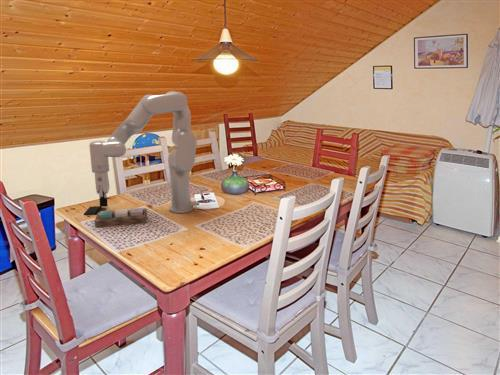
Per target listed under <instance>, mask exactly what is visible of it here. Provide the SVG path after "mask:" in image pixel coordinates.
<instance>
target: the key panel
mask: <svg viewBox="0 0 500 375" xmlns="http://www.w3.org/2000/svg"><path fill="white" fill-rule="evenodd" d="M147 210H148V209H147V208H143V215H141V216H130V211H131V209H128V217H127V216H126V217H116V218H115V211H116V210H113V218H105V219H99V214H100V211H98V213H97V214H96V215H95V216H96V217H95V219H94V227H95V228H106V227H116V226H128V225H139V224H147V223H148V221H147V220H148V211H147Z"/></svg>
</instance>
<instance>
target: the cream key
mask: <svg viewBox="0 0 500 375" xmlns="http://www.w3.org/2000/svg"><path fill="white" fill-rule="evenodd" d="M128 210H129V209H128V208H125V209H123V208H122V209H115V210H114V211H115V218H116V217H126V216H127V217H128Z"/></svg>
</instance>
